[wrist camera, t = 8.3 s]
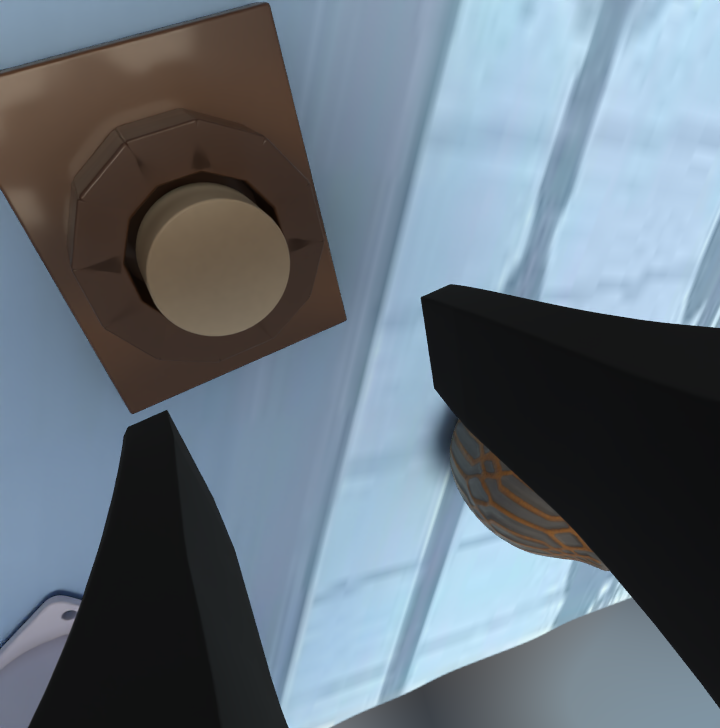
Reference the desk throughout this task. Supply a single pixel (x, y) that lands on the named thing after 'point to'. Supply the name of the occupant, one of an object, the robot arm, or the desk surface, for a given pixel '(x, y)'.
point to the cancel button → (212, 259)
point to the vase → (511, 503)
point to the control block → (162, 185)
